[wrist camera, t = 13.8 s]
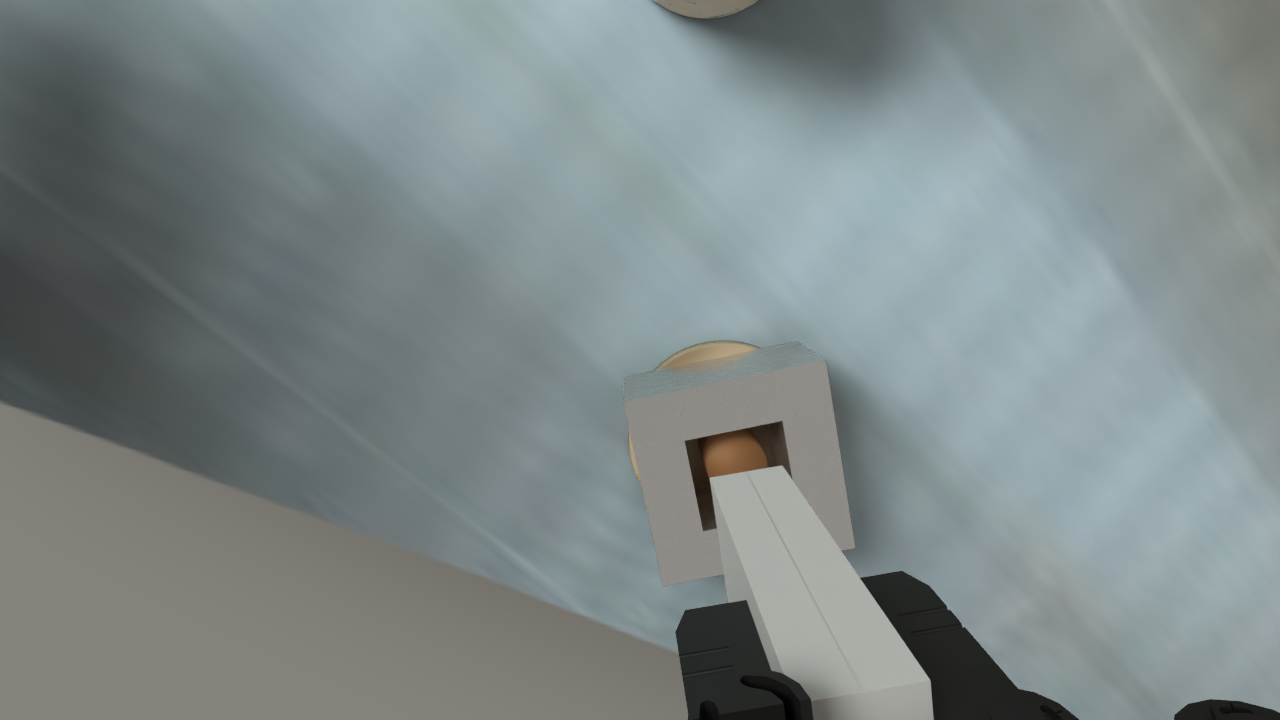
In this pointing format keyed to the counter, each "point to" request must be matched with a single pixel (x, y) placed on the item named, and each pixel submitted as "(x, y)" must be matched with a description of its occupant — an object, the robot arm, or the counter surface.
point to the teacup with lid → (706, 7)
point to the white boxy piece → (722, 402)
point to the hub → (726, 448)
